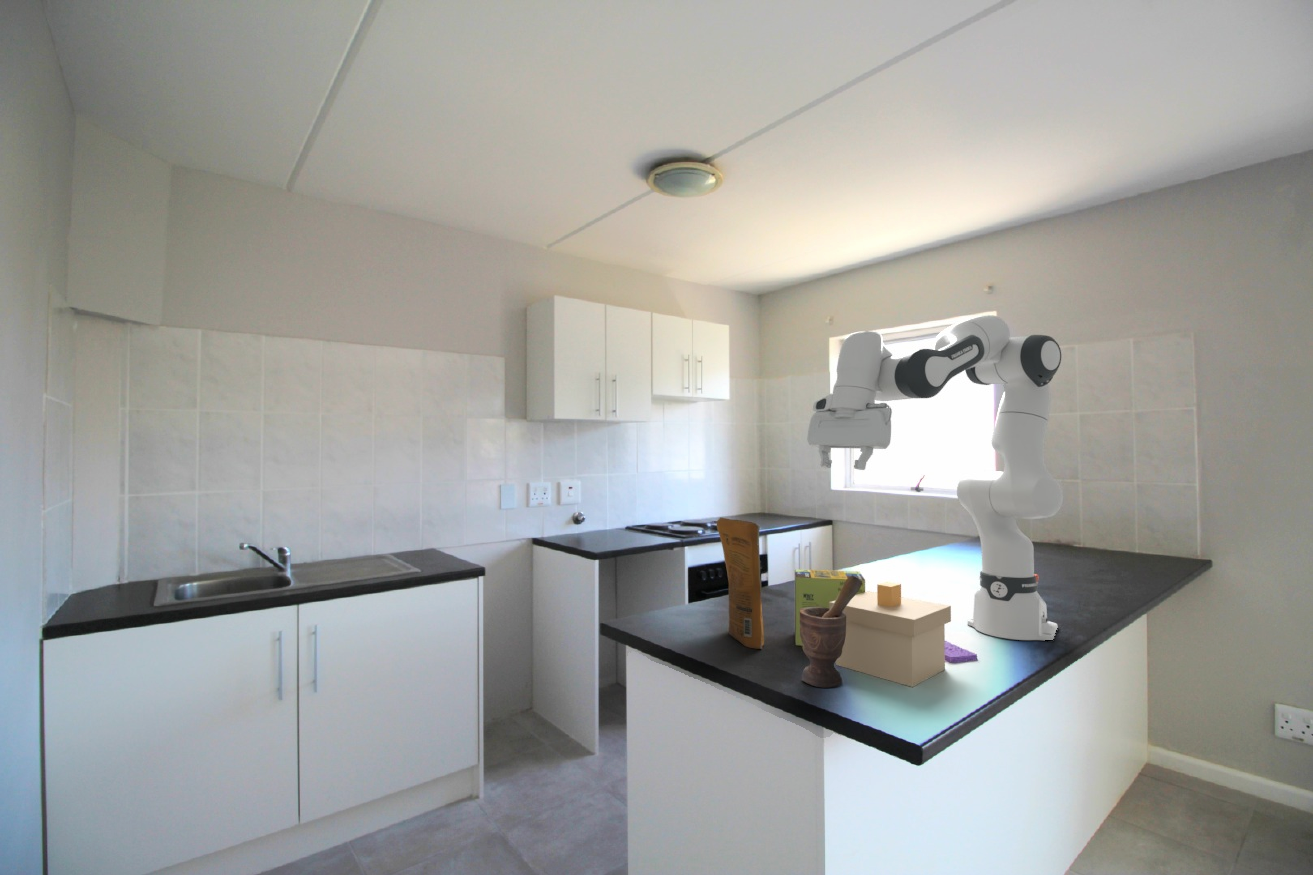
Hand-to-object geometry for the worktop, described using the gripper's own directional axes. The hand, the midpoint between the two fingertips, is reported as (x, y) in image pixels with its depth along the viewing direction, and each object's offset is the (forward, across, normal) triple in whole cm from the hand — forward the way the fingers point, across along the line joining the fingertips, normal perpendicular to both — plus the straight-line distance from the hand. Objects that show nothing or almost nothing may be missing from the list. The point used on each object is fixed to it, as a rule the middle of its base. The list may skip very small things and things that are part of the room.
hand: (841, 468), depth 129 cm
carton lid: (+29, -8, -12) cm, 32 cm away
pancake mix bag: (+42, +21, 0) cm, 47 cm away
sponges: (+35, -7, -32) cm, 48 cm away
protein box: (+38, +10, -16) cm, 43 cm away
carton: (+38, -8, -14) cm, 41 cm away
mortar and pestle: (+42, -8, +2) cm, 42 cm away
